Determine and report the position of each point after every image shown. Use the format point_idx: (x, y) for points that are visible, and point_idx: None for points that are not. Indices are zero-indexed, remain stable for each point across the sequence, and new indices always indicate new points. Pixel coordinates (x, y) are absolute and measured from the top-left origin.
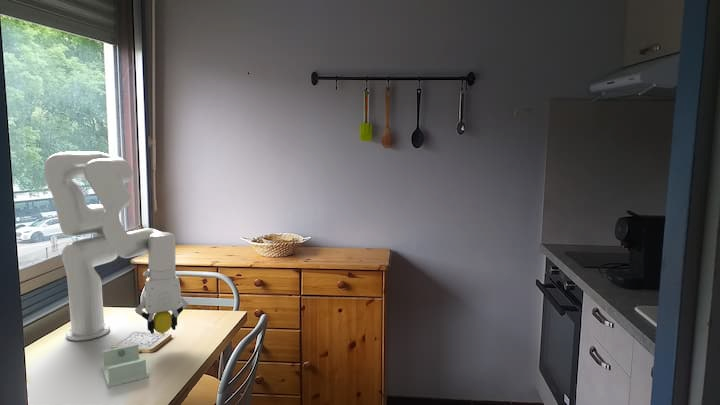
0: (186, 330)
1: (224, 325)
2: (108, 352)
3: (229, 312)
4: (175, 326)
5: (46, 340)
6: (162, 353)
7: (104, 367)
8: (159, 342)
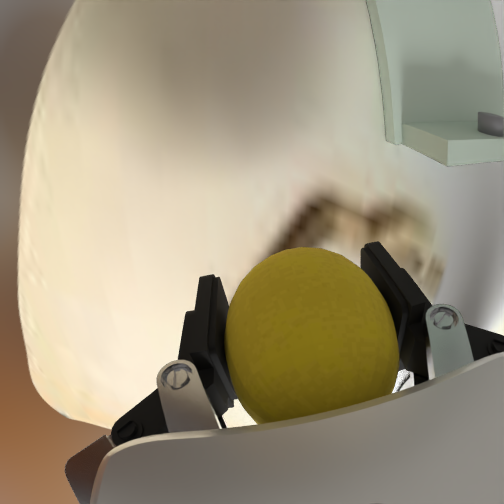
0: None
1: (51, 354)
2: None
3: (75, 413)
4: (197, 291)
5: None
6: (280, 164)
7: (501, 106)
8: None
